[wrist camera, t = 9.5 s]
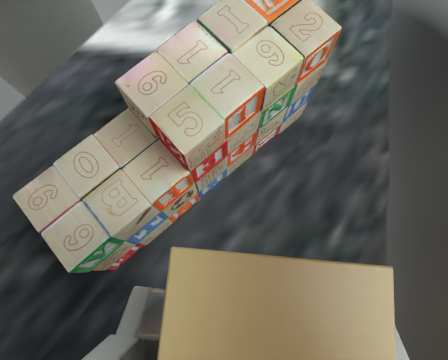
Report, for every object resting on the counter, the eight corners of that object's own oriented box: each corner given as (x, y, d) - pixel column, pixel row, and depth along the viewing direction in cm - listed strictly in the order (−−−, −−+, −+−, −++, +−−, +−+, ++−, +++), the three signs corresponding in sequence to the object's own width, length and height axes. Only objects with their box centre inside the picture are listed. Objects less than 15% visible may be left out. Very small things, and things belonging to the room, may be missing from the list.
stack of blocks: (118, 272, 28) (36, 276, 16) (75, 216, 29) (-30, 181, 17) (301, 117, 31) (346, 24, 19) (256, 72, 33) (272, -40, 21)
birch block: (189, 358, 14) (133, 512, 6) (200, 253, 15) (167, 246, 7) (294, 368, 14) (404, 541, 6) (298, 262, 15) (396, 266, 7)
